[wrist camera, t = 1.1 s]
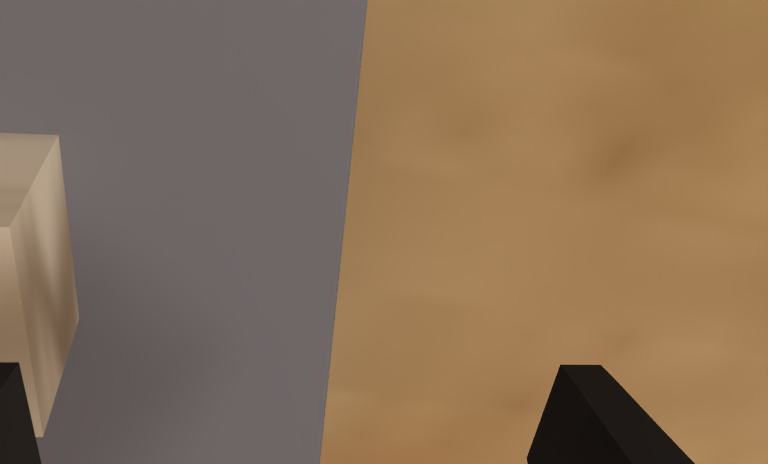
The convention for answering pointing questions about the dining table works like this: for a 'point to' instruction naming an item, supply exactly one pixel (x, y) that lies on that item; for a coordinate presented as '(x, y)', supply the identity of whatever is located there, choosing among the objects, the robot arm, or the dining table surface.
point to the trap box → (193, 216)
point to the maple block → (35, 268)
